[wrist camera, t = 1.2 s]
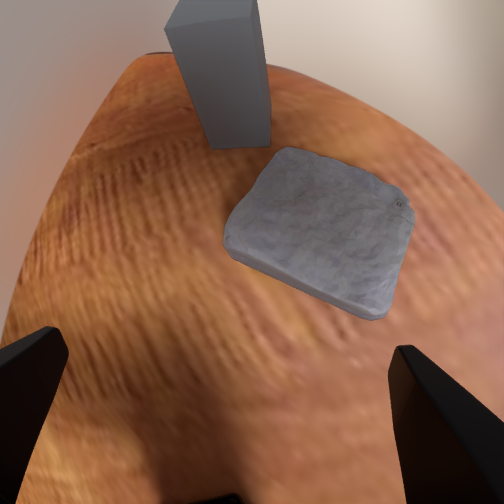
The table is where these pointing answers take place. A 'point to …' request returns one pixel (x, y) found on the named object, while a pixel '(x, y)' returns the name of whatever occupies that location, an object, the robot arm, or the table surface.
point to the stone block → (324, 231)
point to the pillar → (224, 69)
